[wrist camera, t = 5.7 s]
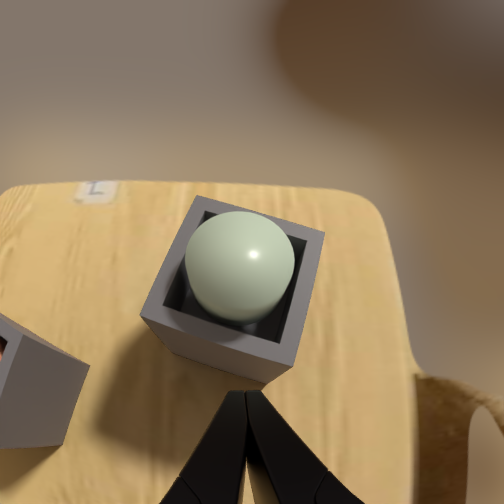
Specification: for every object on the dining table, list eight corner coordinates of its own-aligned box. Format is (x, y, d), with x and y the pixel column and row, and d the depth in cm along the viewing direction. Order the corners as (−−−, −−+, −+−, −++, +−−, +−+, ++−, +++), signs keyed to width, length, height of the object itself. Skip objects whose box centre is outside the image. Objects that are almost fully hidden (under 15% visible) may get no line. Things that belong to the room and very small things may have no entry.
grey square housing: (62, 444, 16) (-13, 448, 9) (0, 400, 17) (-75, 380, 9) (90, 365, 20) (23, 334, 12) (26, 328, 20) (-42, 284, 12)
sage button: (270, 338, 14) (278, 323, 12) (176, 307, 15) (168, 287, 12) (293, 254, 16) (304, 228, 14) (210, 229, 17) (208, 200, 15)
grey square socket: (267, 383, 21) (292, 366, 13) (172, 352, 21) (139, 315, 13) (292, 295, 24) (324, 232, 16) (205, 268, 24) (196, 195, 17)
